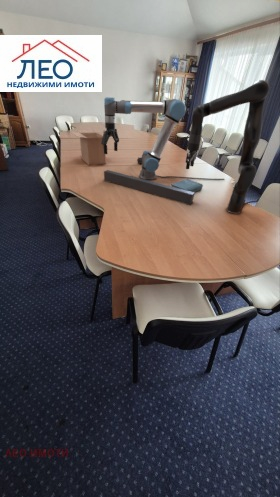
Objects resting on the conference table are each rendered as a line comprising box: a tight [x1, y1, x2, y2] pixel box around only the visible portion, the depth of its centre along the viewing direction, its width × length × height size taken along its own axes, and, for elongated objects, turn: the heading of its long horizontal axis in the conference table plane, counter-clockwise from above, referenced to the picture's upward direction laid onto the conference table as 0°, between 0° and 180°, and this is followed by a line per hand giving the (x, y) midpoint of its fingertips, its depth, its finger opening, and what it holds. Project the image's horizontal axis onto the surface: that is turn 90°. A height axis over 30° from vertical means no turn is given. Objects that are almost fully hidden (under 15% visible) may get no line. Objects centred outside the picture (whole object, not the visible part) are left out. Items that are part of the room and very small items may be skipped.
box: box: [70, 129, 113, 166], centre depth 229 cm, size 44×36×27 cm
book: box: [170, 178, 204, 193], centre depth 184 cm, size 23×16×5 cm
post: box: [103, 169, 195, 206], centre depth 177 cm, size 79×5×8 cm, turn 60°
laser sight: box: [136, 154, 143, 165], centre depth 236 cm, size 10×22×10 cm, turn 78°
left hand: (110, 152), depth 178 cm, fingers open, 13 cm apart
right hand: (189, 167), depth 152 cm, fingers open, 8 cm apart
